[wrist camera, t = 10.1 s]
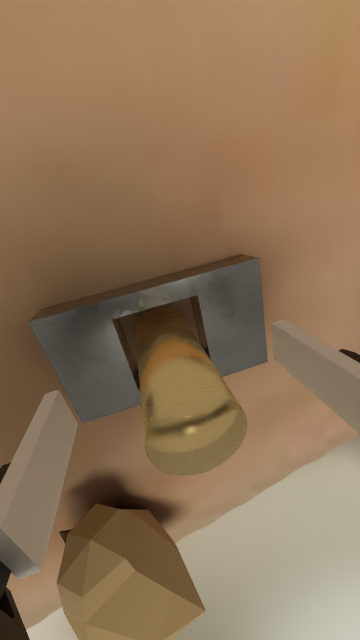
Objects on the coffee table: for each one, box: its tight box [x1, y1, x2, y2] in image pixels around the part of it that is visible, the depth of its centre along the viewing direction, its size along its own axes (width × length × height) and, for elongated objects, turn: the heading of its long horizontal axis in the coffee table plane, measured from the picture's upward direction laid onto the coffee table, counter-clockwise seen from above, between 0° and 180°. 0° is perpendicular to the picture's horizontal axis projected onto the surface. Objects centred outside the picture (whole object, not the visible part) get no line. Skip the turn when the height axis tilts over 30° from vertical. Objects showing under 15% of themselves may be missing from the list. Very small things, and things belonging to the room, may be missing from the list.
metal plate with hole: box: [29, 255, 268, 423], centre depth 19 cm, size 16×9×2 cm, turn 103°
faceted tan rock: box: [57, 503, 205, 640], centre depth 23 cm, size 15×11×12 cm
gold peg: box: [135, 307, 247, 475], centre depth 15 cm, size 4×4×11 cm
